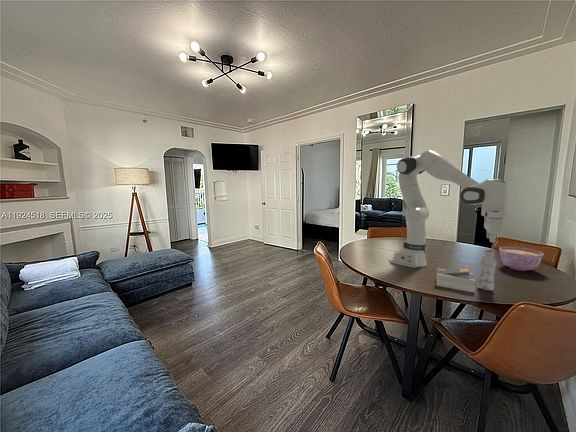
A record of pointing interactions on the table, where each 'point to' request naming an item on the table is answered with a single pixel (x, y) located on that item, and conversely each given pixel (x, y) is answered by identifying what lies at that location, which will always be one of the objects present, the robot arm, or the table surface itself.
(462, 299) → the table surface
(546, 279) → the table surface
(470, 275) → the box
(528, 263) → the bowl of food
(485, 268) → the plastic bottle
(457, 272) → the gray and orange tool
